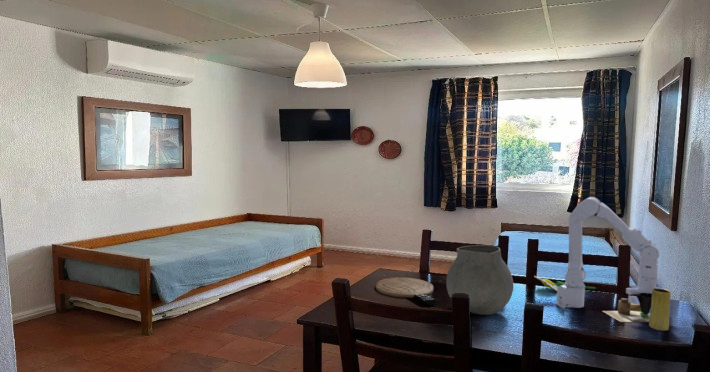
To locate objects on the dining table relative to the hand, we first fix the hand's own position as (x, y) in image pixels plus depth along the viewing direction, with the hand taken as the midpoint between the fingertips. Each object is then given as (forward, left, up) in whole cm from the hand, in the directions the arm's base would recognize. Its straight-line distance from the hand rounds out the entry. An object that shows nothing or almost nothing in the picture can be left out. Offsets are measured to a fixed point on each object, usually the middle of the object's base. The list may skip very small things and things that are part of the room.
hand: (644, 313), depth 171 cm
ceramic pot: (-59, +11, -3) cm, 60 cm away
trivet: (-82, +40, -3) cm, 91 cm away
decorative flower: (-10, +37, -3) cm, 39 cm away
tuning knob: (-2, +4, -1) cm, 5 cm away
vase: (-2, -9, -3) cm, 10 cm away
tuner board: (-5, +2, -3) cm, 6 cm away
